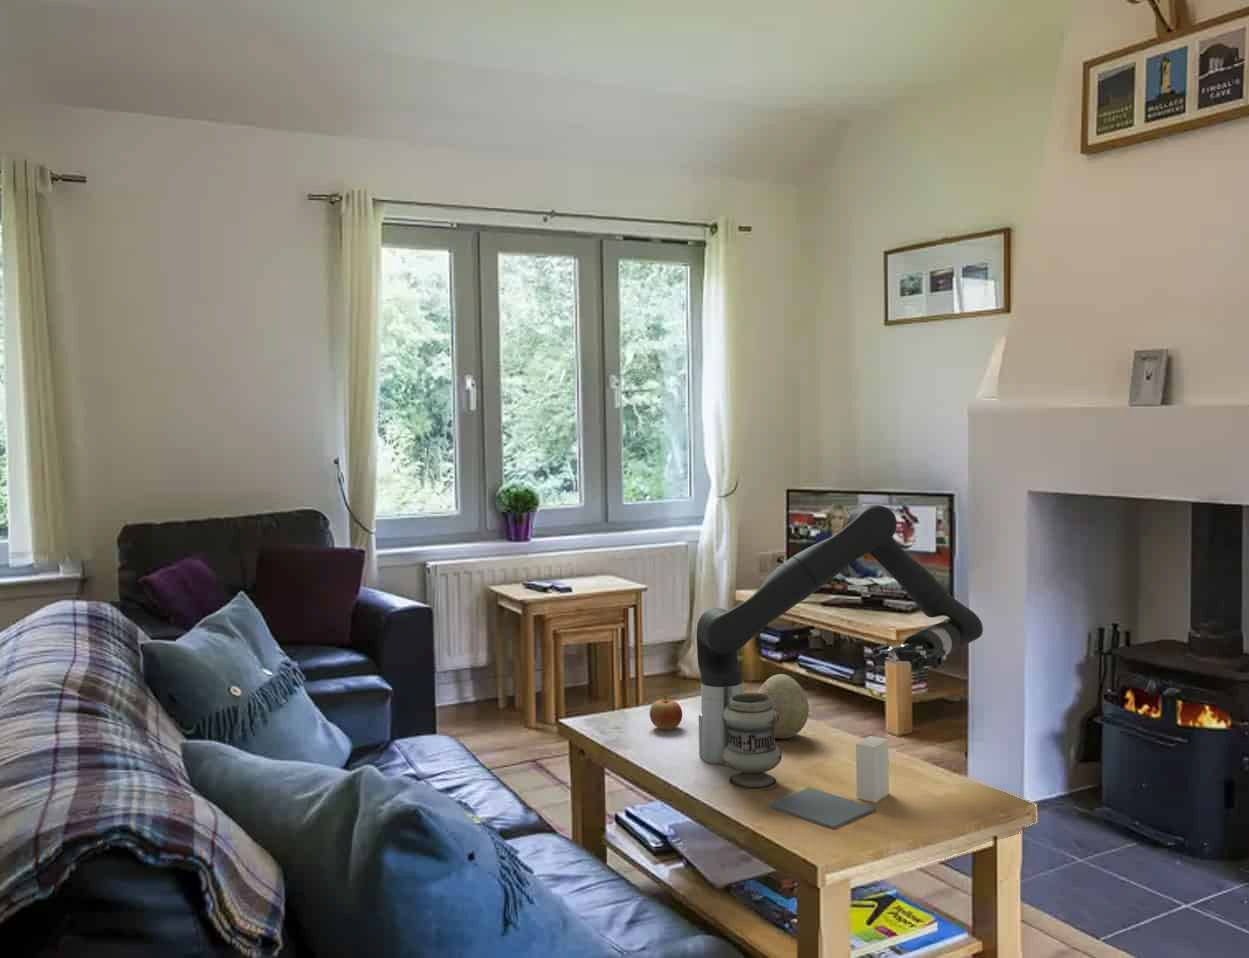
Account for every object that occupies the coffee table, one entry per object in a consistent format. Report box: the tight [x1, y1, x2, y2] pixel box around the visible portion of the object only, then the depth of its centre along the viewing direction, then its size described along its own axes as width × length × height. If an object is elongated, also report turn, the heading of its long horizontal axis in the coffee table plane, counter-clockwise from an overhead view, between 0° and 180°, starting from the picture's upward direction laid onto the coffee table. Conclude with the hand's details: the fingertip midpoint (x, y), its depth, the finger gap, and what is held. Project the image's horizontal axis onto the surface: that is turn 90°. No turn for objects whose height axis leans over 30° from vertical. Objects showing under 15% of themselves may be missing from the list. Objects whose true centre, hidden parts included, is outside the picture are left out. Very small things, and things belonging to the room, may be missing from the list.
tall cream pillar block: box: [855, 735, 890, 803], centre depth 209 cm, size 4×6×11 cm, turn 141°
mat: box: [766, 786, 877, 829], centre depth 203 cm, size 16×13×1 cm
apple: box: [649, 695, 683, 730], centre depth 258 cm, size 8×8×8 cm
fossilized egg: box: [757, 673, 810, 740], centre depth 248 cm, size 13×13×15 cm
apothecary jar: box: [722, 692, 783, 792], centre depth 218 cm, size 12×12×18 cm
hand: (894, 663), depth 215 cm, fingers open, 8 cm apart
